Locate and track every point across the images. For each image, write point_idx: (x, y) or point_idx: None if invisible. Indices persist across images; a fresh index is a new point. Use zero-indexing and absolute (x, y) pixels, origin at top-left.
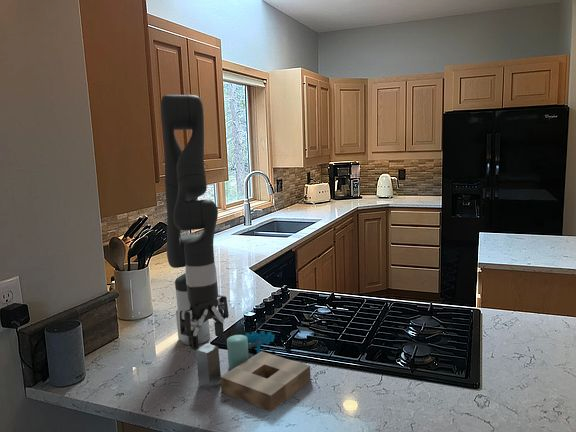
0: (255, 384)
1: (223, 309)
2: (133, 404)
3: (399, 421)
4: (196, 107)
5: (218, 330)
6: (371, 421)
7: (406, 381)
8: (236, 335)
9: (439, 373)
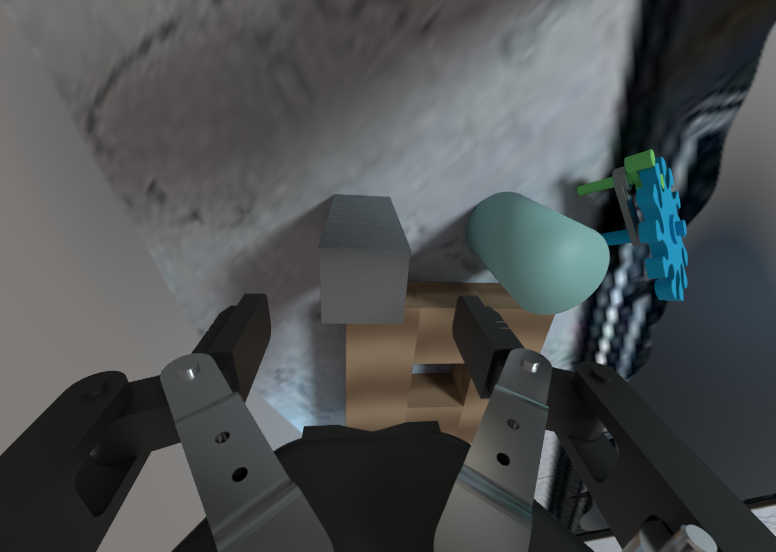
0: (366, 403)
1: (600, 489)
2: (70, 45)
3: None
4: None
5: (466, 343)
6: None
7: (537, 501)
8: (600, 244)
9: (573, 517)
